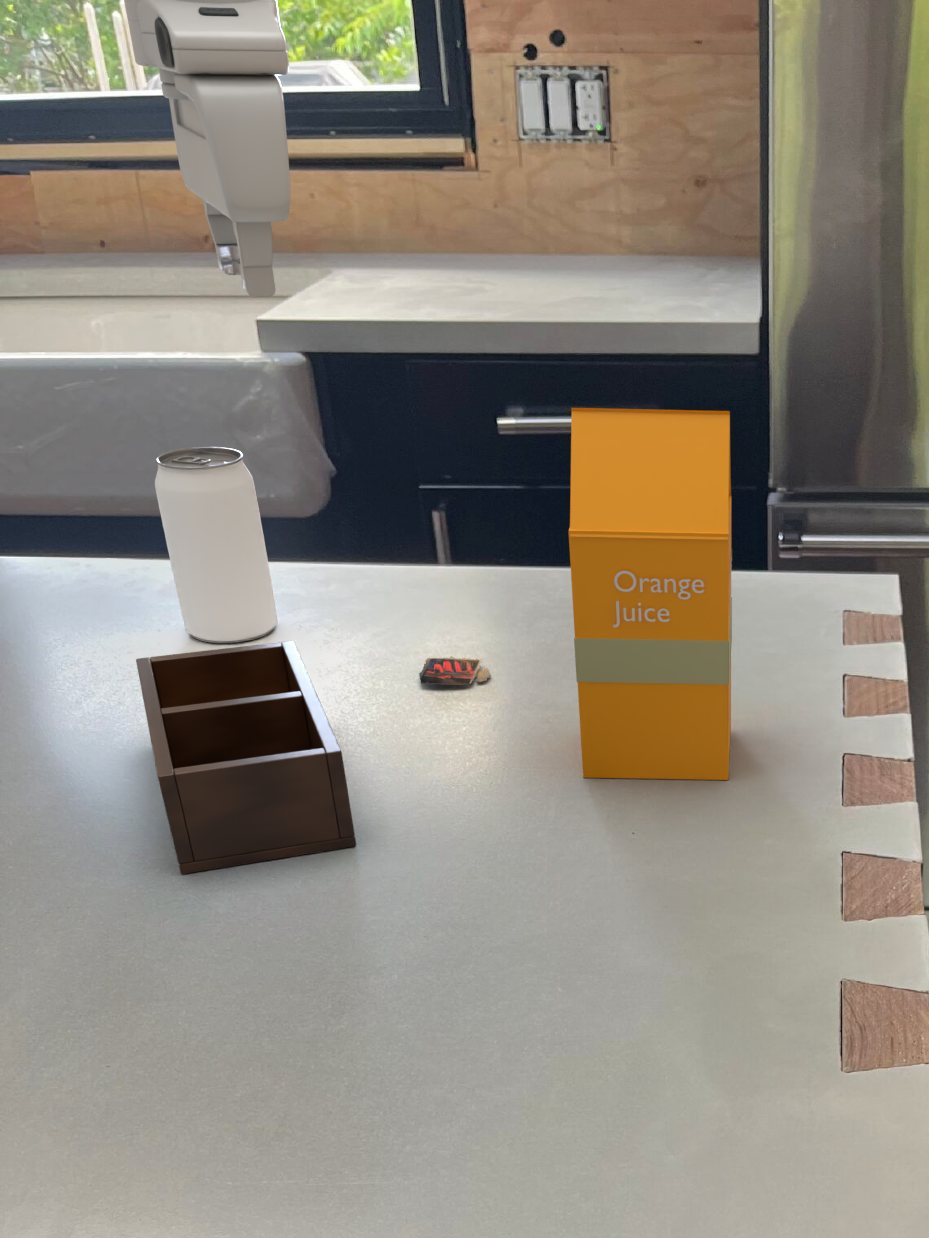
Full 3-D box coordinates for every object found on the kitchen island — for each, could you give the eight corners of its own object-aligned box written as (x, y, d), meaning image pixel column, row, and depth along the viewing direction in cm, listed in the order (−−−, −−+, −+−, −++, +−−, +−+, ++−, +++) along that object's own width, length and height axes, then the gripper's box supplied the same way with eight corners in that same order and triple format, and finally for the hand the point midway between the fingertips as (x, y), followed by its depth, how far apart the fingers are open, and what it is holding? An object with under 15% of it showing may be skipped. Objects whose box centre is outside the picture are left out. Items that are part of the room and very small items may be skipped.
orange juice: (729, 781, 89) (730, 428, 77) (581, 778, 89) (560, 424, 77) (732, 728, 95) (733, 395, 84) (594, 726, 95) (576, 392, 84)
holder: (180, 875, 78) (157, 776, 75) (156, 746, 91) (135, 658, 88) (356, 846, 81) (341, 751, 78) (308, 726, 94) (293, 640, 91)
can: (243, 650, 105) (210, 473, 98) (166, 638, 106) (128, 463, 99) (297, 621, 110) (268, 450, 103) (222, 609, 111) (189, 441, 104)
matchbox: (421, 690, 99) (420, 683, 99) (417, 662, 103) (416, 656, 103) (492, 685, 100) (491, 678, 100) (485, 658, 104) (485, 651, 104)
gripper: (131, 27, 97) (175, 263, 105) (175, 37, 82) (223, 312, 90) (231, 29, 100) (266, 260, 108) (292, 39, 85) (328, 307, 93)
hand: (247, 284), depth 99 cm, fingers open, 8 cm apart
